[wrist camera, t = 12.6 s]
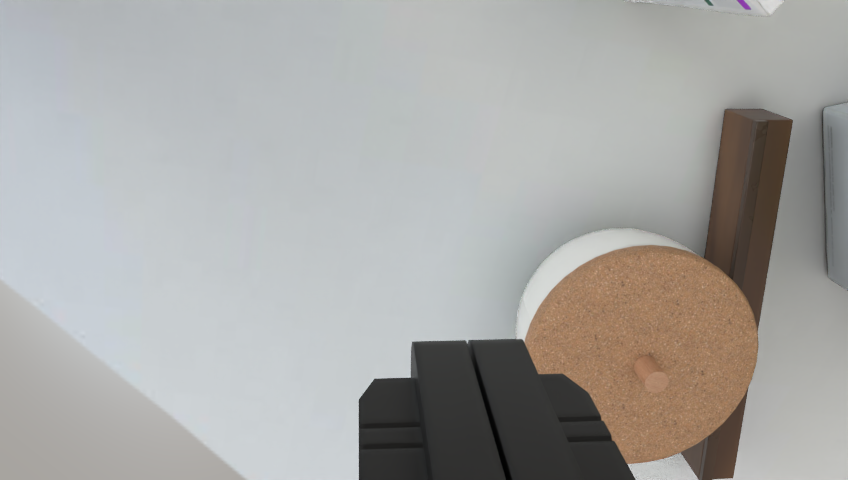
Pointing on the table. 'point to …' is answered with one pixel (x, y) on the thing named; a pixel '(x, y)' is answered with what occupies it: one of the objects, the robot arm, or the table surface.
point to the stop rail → (742, 243)
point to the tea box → (836, 191)
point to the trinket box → (642, 336)
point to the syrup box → (724, 5)
